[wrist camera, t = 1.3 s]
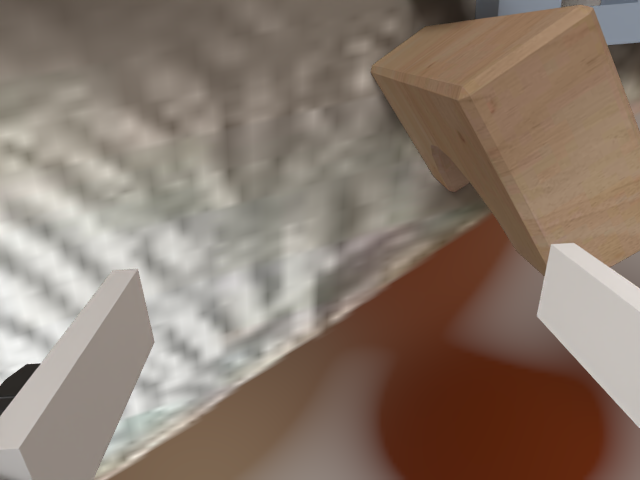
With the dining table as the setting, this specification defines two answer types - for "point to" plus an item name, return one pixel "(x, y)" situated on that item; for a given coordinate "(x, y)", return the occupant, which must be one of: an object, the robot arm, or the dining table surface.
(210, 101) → the dining table surface
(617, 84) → the decorative block
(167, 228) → the dining table surface
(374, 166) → the dining table surface
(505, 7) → the board
